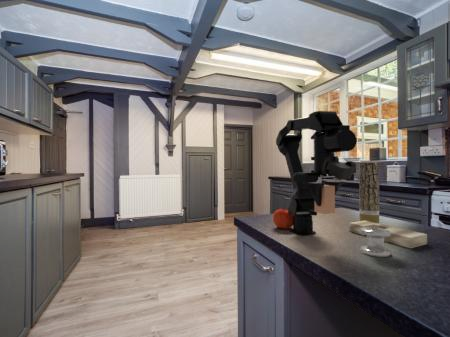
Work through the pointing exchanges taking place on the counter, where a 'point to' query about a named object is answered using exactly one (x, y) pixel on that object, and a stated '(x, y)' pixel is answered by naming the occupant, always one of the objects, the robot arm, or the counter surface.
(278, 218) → the apple
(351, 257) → the counter surface
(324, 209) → the tab block
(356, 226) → the notched board
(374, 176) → the paper tube
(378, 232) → the bobbin
